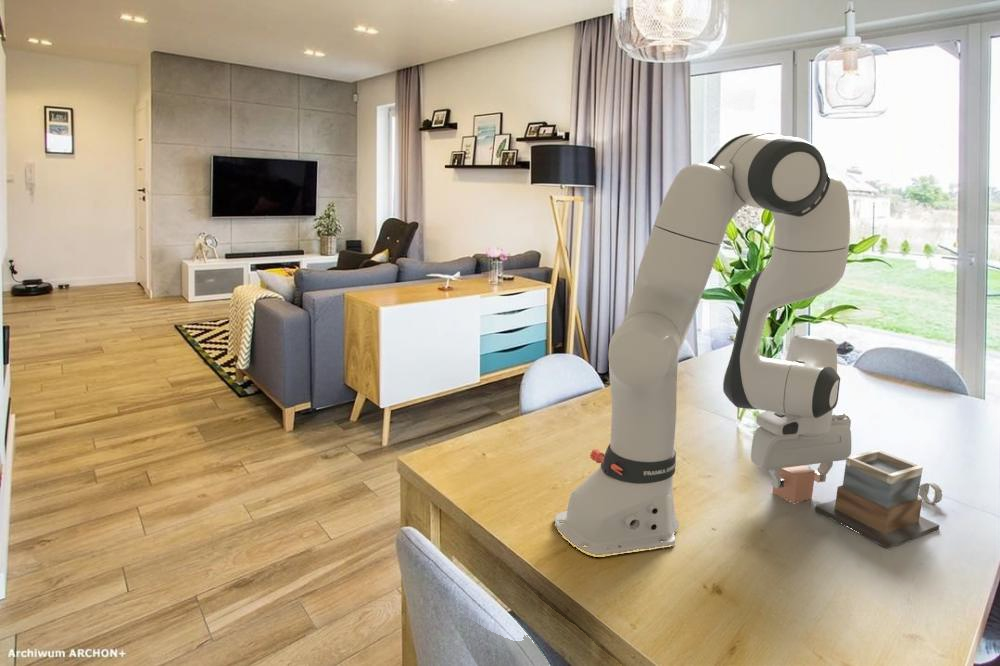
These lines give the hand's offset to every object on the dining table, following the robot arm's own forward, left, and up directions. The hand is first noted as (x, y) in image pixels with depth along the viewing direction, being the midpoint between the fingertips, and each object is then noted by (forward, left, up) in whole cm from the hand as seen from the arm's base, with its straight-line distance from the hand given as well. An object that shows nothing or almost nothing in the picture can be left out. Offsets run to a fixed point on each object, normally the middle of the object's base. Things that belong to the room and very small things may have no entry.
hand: (798, 483), depth 119 cm
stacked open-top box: (+6, -12, -3) cm, 14 cm away
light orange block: (0, +1, -3) cm, 3 cm away
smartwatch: (+22, -12, -3) cm, 25 cm away
